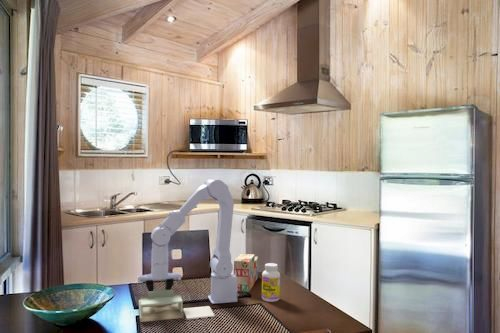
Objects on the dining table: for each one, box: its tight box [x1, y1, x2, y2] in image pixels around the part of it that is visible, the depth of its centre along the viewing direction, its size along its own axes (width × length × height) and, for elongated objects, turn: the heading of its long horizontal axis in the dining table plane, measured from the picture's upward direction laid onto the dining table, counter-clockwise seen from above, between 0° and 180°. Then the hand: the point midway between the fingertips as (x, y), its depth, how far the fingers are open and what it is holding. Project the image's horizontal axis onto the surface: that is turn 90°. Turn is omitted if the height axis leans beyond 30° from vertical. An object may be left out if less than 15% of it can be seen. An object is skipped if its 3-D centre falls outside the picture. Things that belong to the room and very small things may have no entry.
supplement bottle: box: [261, 262, 281, 303], centre depth 145 cm, size 7×7×13 cm
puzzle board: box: [138, 299, 185, 323], centre depth 132 cm, size 13×17×1 cm
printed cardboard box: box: [233, 253, 259, 293], centre depth 163 cm, size 21×6×12 cm, turn 169°
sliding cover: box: [139, 289, 184, 316], centre depth 128 cm, size 13×6×6 cm, turn 108°
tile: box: [183, 305, 216, 321], centre depth 129 cm, size 9×9×1 cm
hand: (159, 301), depth 135 cm, fingers closed on block, 4 cm apart
